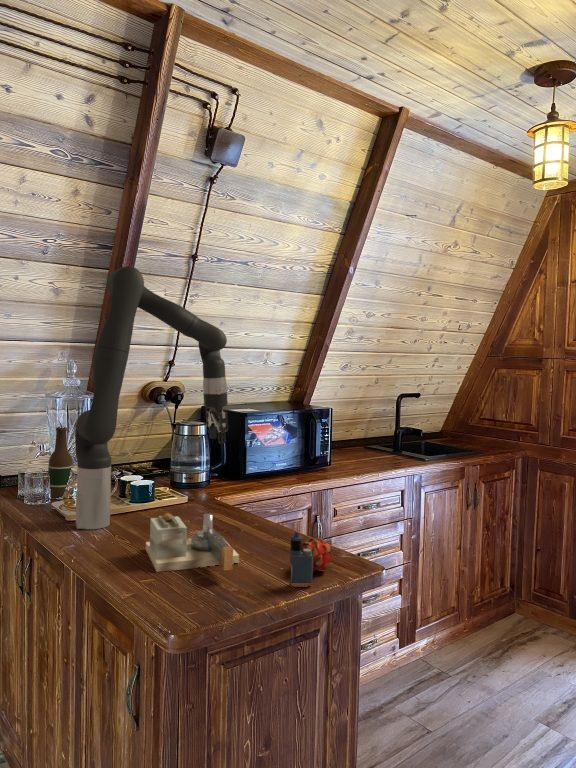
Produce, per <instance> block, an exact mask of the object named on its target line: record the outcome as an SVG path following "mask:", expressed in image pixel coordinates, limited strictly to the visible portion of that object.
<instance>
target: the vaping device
mask: <svg viewBox="0 0 576 768" xmlns="http://www.w3.org/2000/svg"><path fill="white" fill-rule="evenodd" d="M302 537H303V536H301V535H300V532H298V531H297V532H293V535H292V536H291V537H290V554H289V563H290V569H291V570H290V584H291V583H311V582H312V583H313V575H314V574H313V573H314V572H313V556H312V550H311V549H303V552H301V543H302V539H303V538H302Z"/></svg>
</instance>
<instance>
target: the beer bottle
mask: <svg viewBox="0 0 576 768" xmlns="http://www.w3.org/2000/svg"><path fill="white" fill-rule="evenodd" d="M60 427H61V426H57V427H55V432H56V433H55V443H54V450H53V452H52V453H51V455H50V457H49V460H48V465H47V466H48V468H47V469H48V471H47V475H48V474H49V476H50V489H51V496H52V498H59V497H62V496H63V494H64V492H65V488H66V485H67V482H68V479H69V476H70V470H71V468H73V469H74V462H73V458H72V455H71V453H70V452H69V451H68V450H69V449H68V437H67V432H68V427H66V426H63V427H64V428H60Z"/></svg>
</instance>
